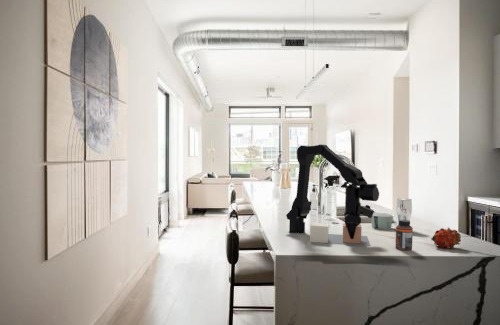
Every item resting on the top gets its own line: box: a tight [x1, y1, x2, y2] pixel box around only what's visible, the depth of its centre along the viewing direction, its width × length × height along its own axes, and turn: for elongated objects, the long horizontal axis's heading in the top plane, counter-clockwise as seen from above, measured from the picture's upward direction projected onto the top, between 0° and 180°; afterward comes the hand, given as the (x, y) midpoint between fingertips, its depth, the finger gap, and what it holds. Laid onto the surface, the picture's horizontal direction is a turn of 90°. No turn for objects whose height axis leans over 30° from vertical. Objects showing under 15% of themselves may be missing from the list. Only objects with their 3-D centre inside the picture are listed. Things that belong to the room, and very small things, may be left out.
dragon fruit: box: [431, 227, 462, 249], centre depth 162 cm, size 8×8×12 cm
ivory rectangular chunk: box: [309, 222, 330, 244], centre depth 169 cm, size 7×7×6 cm
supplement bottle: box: [395, 220, 414, 252], centre depth 157 cm, size 6×6×11 cm
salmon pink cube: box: [342, 222, 362, 243], centre depth 170 cm, size 7×7×6 cm
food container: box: [370, 212, 395, 230], centre depth 207 cm, size 12×12×6 cm
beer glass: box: [396, 197, 413, 226], centre depth 201 cm, size 7×7×15 cm
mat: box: [308, 233, 371, 247], centre depth 173 cm, size 24×21×1 cm
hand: (351, 237), depth 170 cm, fingers closed on salmon pink cube, 7 cm apart
